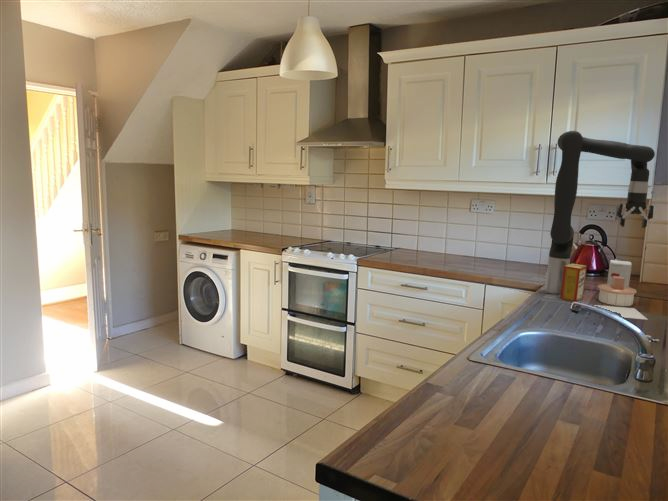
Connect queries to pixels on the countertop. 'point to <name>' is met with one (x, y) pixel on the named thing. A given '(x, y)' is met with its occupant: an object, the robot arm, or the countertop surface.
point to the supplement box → (620, 271)
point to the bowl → (616, 298)
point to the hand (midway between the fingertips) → (632, 227)
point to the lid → (617, 286)
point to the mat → (625, 312)
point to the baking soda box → (573, 282)
